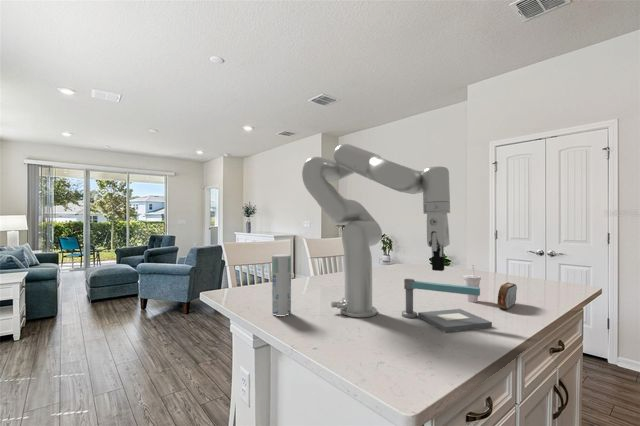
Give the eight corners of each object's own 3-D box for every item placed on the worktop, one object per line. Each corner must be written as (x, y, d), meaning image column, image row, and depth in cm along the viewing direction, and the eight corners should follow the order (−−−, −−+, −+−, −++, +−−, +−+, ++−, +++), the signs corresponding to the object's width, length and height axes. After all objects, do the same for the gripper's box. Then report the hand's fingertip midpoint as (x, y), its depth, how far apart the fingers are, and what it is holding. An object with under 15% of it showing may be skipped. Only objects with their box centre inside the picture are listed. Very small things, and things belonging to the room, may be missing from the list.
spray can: (293, 315, 104) (292, 255, 105) (273, 317, 103) (273, 256, 103) (289, 310, 111) (289, 253, 111) (270, 312, 109) (270, 254, 109)
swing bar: (403, 289, 104) (403, 280, 104) (405, 287, 106) (405, 278, 106) (479, 297, 92) (479, 287, 92) (480, 295, 95) (480, 285, 95)
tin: (509, 302, 120) (508, 280, 120) (518, 303, 118) (518, 281, 118) (496, 310, 110) (496, 286, 110) (506, 312, 108) (506, 287, 108)
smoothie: (484, 303, 119) (484, 266, 119) (467, 303, 119) (467, 266, 119) (476, 298, 125) (476, 263, 125) (460, 298, 125) (459, 263, 125)
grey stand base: (431, 333, 88) (431, 302, 88) (399, 314, 106) (398, 287, 106) (491, 327, 93) (491, 297, 93) (451, 309, 111) (451, 284, 111)
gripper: (445, 207, 85) (447, 275, 85) (453, 208, 98) (455, 267, 97) (417, 208, 89) (419, 273, 88) (428, 209, 102) (430, 266, 101)
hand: (438, 270), depth 93 cm, fingers closed
